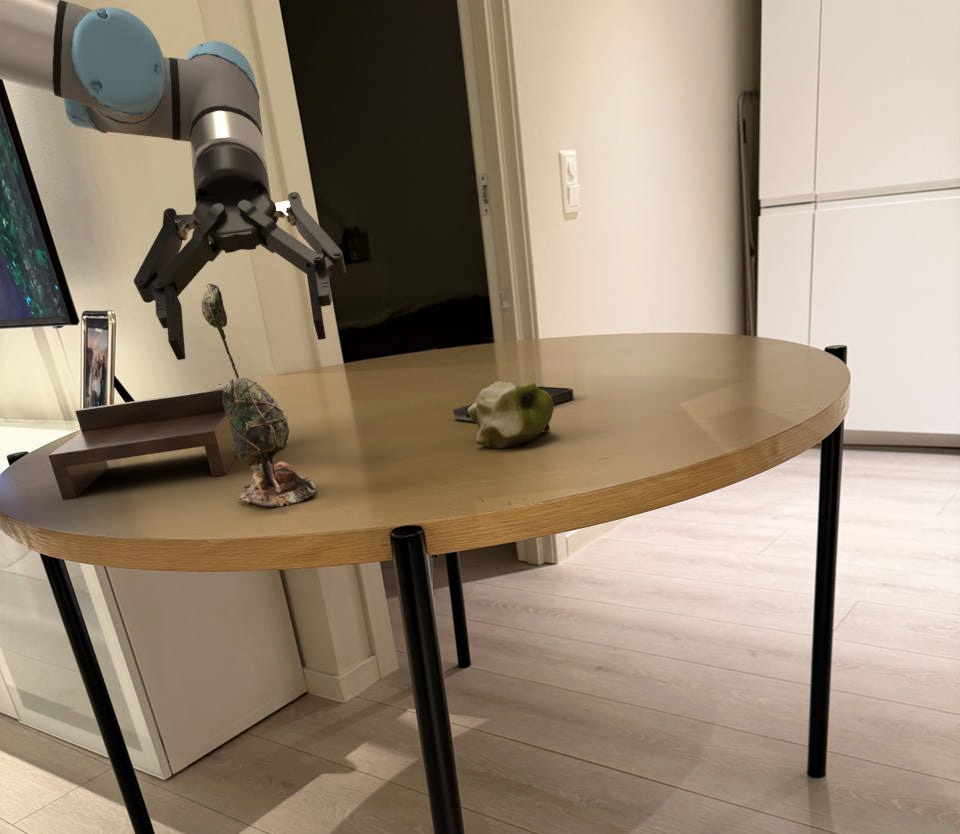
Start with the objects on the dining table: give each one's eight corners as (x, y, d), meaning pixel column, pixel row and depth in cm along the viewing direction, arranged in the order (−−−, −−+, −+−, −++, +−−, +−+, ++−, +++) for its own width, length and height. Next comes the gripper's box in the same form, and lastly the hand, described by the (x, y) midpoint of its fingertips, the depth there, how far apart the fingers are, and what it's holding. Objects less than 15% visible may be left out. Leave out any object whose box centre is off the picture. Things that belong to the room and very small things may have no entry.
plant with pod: (224, 522, 82) (165, 291, 74) (247, 489, 92) (197, 283, 84) (311, 510, 82) (262, 278, 73) (324, 478, 92) (283, 272, 84)
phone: (576, 388, 114) (490, 414, 106) (577, 397, 115) (491, 423, 106) (533, 386, 120) (448, 410, 111) (534, 394, 120) (450, 419, 112)
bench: (62, 499, 98) (40, 432, 95) (96, 469, 111) (77, 409, 108) (225, 475, 99) (208, 407, 96) (240, 448, 112) (226, 388, 109)
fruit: (563, 456, 94) (550, 384, 89) (476, 474, 95) (460, 403, 90) (555, 422, 101) (543, 353, 96) (475, 438, 102) (460, 371, 97)
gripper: (355, 188, 96) (382, 347, 89) (122, 219, 95) (131, 383, 87) (345, 126, 89) (373, 294, 82) (94, 159, 88) (100, 332, 80)
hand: (248, 340), depth 85 cm, fingers open, 13 cm apart
